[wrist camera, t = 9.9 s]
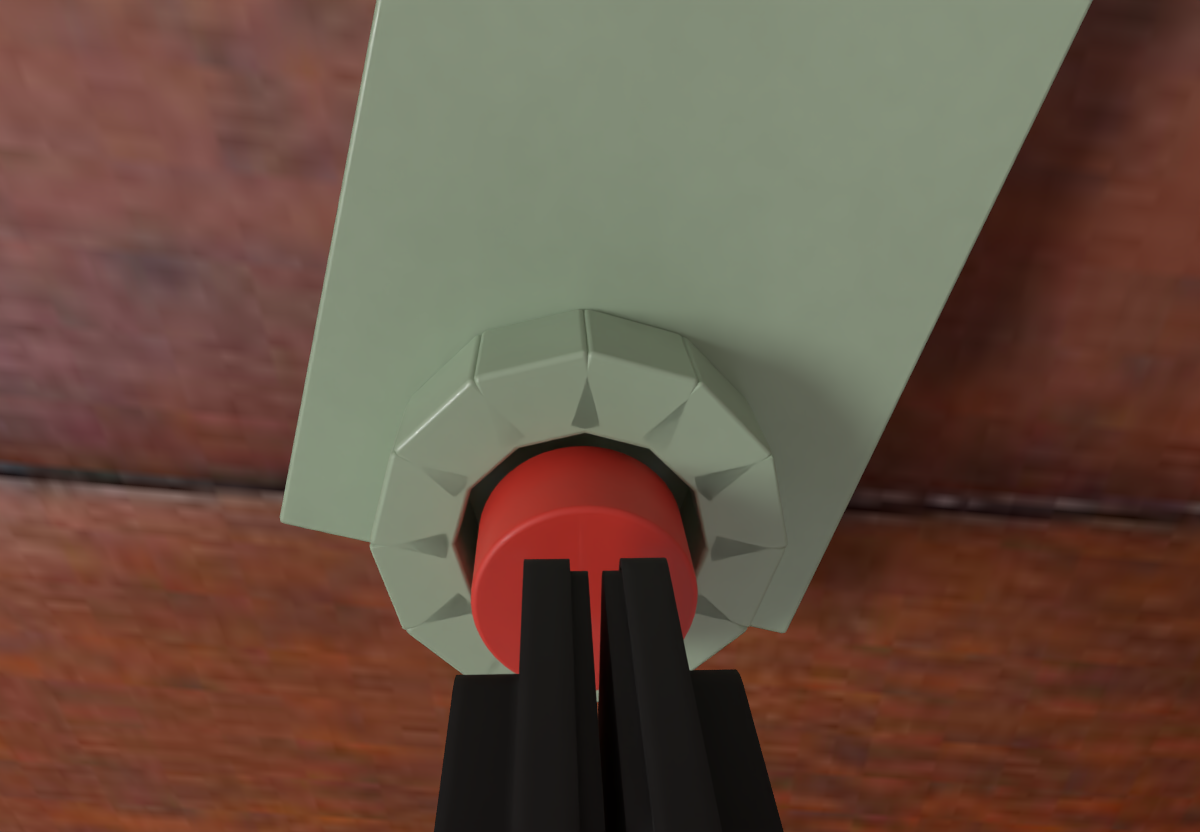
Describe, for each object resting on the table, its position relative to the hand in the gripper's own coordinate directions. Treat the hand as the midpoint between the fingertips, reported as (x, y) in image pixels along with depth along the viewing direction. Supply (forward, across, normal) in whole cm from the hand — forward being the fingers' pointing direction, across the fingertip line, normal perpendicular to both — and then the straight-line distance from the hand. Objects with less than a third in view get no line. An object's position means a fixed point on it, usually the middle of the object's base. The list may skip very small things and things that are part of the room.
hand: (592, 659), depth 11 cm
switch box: (+7, -2, -6) cm, 9 cm away
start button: (+3, 0, 0) cm, 3 cm away
